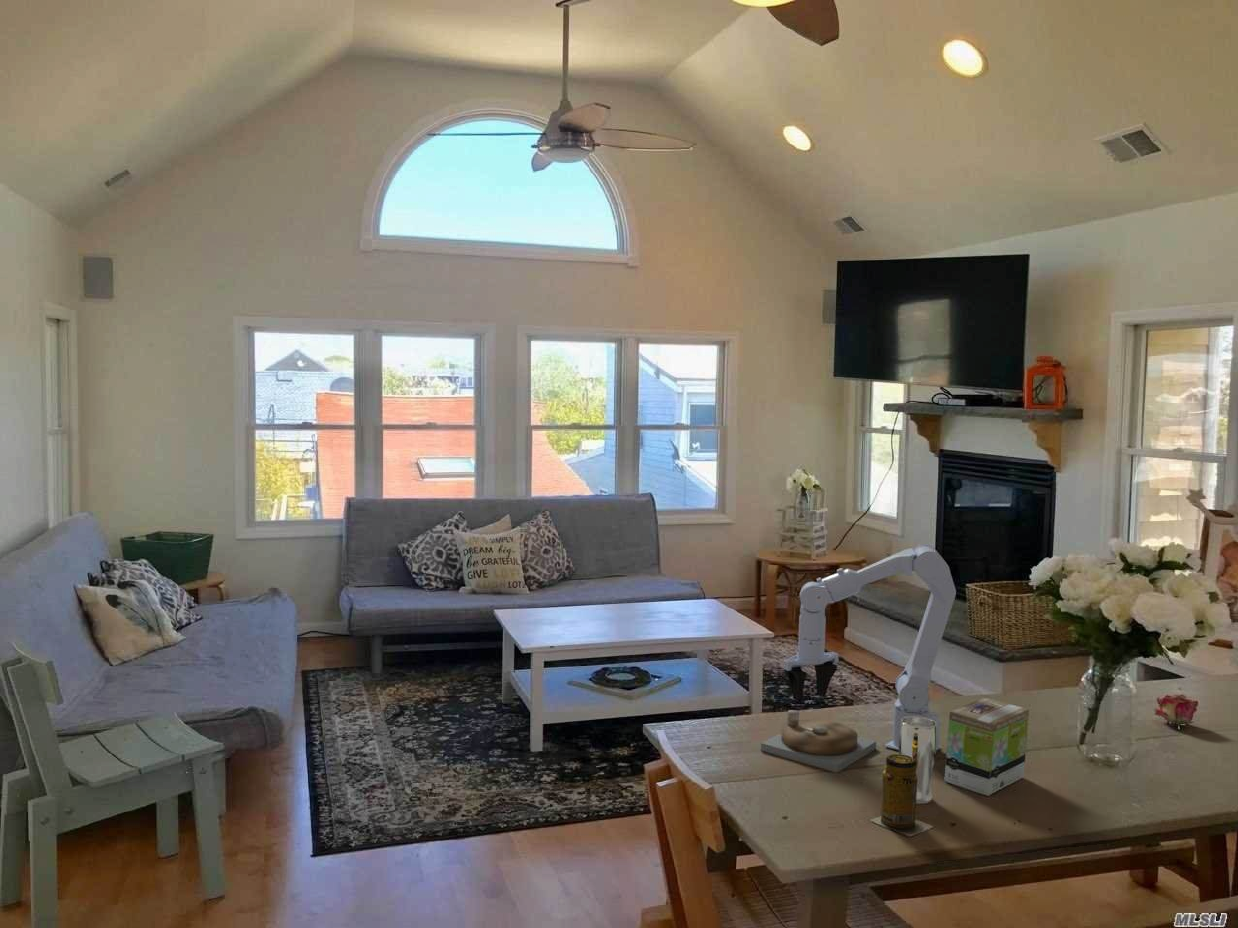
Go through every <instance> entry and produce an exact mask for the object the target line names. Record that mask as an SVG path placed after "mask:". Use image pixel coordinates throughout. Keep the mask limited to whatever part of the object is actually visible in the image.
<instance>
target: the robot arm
mask: <svg viewBox="0 0 1238 928" xmlns="http://www.w3.org/2000/svg"><path fill="white" fill-rule="evenodd" d="M913 572H915V575H916V576H917V577H918V578H919V579H921V580H922V581H923V582H924V583H925V584H926V586H927V588H928V589H929V591H930V596H929V599H928V600H927V601H928V602H927V605H926V608H925V610H924V614H923V618H922V620H921V623H920V627H919V630H918V633H917V636H916V639H915V642H914V645H913V647H912V652H911V654H910V657H909V660H908V661H907V663H906V664H905V666H904V668H903V669H904V670H903V671H902V673H901V674H899V675H898V676H897V678H896V679H895V682H894V683H895V684H894V686H895V691H896V693H897V694H898V698H897V700H895V702H894V705H893V723H892V724H893V725H892V739H891V741H889V742H887V743H885V744H884V747H885V748H889V749H892V750H896V751H899V734H900V727H901V719H902V718H904V717H907V716H919V717H925V718H929V719H932V720H934V721H935V722H936V723H937V749H936V752H938V750H939V749H941V745H940V740H941V739H940V736H941V717H940V714H939V713H937V712H934V711H932V710H930V709H929V707H930V706H929V703H930V700H931V699H930V693H929V692H930V690H929V689H930V685H931V679H932V670H933V666H934V663H935V661H936V660H935V659H936V656H937V654H938V652H939V647H940V645H941V642H942V639H943V636H944V632H945V629H946V626H947V624H948V623H947V622H948V620H949V617H950V614H951V611H952V608H953V604H954V601H955V599H956V595H957V589H956V587H955V583H954V580H953V576H952V573H951V569H950V566H949V565H948V564H947V562H946V560H944V558H943V556H941V554H940V553H939V552H938V550H937V549H936V548H935V547H934V546H931V545H929V544H920V545H917V546H916V547H914V548H912V547H911V548H906V549H904V550H901V551H899V552H896V553H894V554H892V555H890V556H888V557H885V558H884V559H881V560H878V561H877V562H874V563H871V564H870V565H867V566H865V567H863V568H861V569H858V570H854V569H851V568H845V569H843V568H842V567H841V568H838V569H837V570H836V573H833V574H831V575H829V576H826V577H823V578H822V577H818V578H816V581H809V582H808V581H807V582H806V583H805V584H803V586H802V587H801V589H800V592H799V601H800V608H799V613H800V614H799V617H798V642H797V644H798V645H797V646H798V647H797V652H796V654H795V655H793V656H792V657H789V658H786V659H782V666H781V667H782V670H783V672H784V673H785V675H786V678H787V680H788V682H789V685H790V689H791V694H792V699H793V700H794V701H797V702H802V701H803V696H804V685H805V681H806V677H807V675H808V673H807V672H805V671H804V670H803V669H802V668H805V667H806V668H807V667H812V666H814V671H815V678H816V679H815V680H816V681H815V682H816V684H815V685H816V686H815V687H816V689H815V690H816V695H818V696H820V697H823V698H825V697H826V696H827V695H826V694H827V692H828V688H829V685H830V683H831V681H832V679H833V678H834V677H833V676H834V675H835V674H836V672H837V670H838V665H836V664H834V663H837V664H838V663H839V655H840V654H839V653H836V652H834V651H829V652H825V647H826V646H825V645H826V626H827V625H826V624H827V623H826V622H827V621H826V619H827V618H826V615H825V614H826V613H825V612H826V608H827V606H828V604H834V603H836V602H840V601H842V600H844V599H848V598H850V597H852V596H854V595H857V594H859V593H860V591H861V589H862V586H864V585H867V584H870V583H872V582H875V581H878V580H881V579H884V578H887V577H890V576H893V575H895V574H900V575H905V576H909V577H913Z"/></svg>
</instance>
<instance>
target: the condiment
mask: <svg viewBox="0 0 1238 928" xmlns="http://www.w3.org/2000/svg"><path fill="white" fill-rule="evenodd" d="M915 766H916V761H915V760H914V759H913V758H912V757H910V756H907V755H903V754H899V753H893V754H889V755H887V756H886V758H885V769H884V770H883V772H882V773H883V774H882V779H881V780H882V787H881V800H880V801H881V803H880V804H881V806H880V816H878V817H874V818H872V819H870V822H872V823H875V824H876V825H880V826H882V827H884V828H886V829H889V830H893V831H894V832H897V833H899V834H901V835H905V836H907V837H913V836H917V834H918V835H919V834H921V833H924V832H925V831H927V830H930V829H932V828H934V826H932V825H930V824H927V823H926V822H925V821H920V820H918V819H917V817H916V812H917V804H916V796H917V775H916V767H915Z"/></svg>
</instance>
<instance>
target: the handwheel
mask: <svg viewBox="0 0 1238 928" xmlns="http://www.w3.org/2000/svg"><path fill="white" fill-rule="evenodd" d="M799 717H800V712H799V711H798V710H796V709H789V710H787V723H786V724H784V725H783V726H782V728H781V733H782V741H783V743H784V744H786V745H787V746H789V747H791V748H793V749H795V750H798V751H801V752H805V753H811V754H818V755H839V754H845V753H849V752H851V751H853V750H855V749H856V747H857V737H859V736H858V732H857V731H855V730H854V729H853V728H851V727H850V726H847V725H844V724H842V723H837V722H835V721H829V720H824V719H800V718H799Z"/></svg>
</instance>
